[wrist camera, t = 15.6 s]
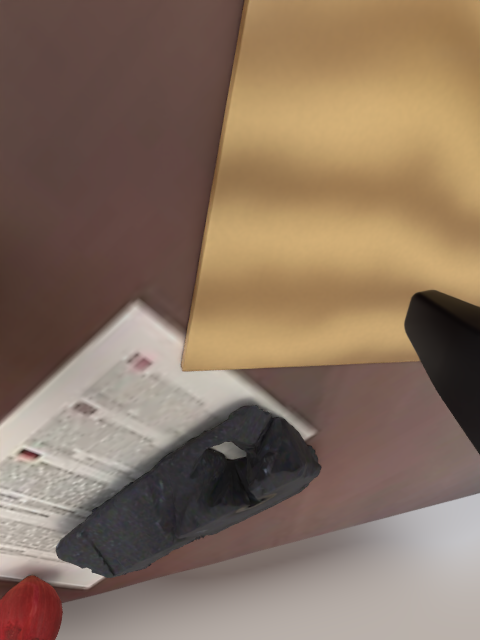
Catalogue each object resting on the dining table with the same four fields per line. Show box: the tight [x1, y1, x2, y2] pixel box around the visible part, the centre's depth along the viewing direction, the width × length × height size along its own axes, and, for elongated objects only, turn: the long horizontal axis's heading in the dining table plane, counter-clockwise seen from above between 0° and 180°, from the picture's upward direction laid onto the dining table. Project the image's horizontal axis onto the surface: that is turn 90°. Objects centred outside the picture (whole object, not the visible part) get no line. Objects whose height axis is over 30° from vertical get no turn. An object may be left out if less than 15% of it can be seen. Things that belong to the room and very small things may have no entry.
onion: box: [0, 576, 63, 640], centre depth 35 cm, size 6×6×8 cm
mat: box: [181, 0, 480, 371], centre depth 23 cm, size 24×24×1 cm
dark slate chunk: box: [56, 405, 321, 578], centre depth 34 cm, size 15×22×5 cm
